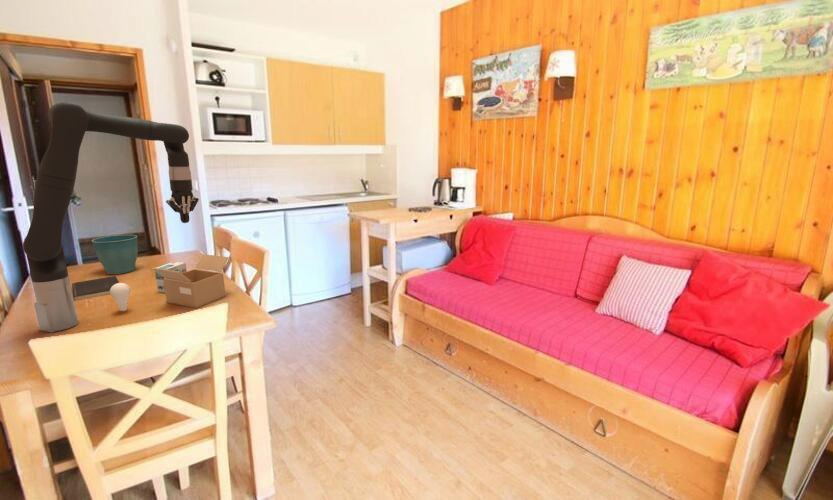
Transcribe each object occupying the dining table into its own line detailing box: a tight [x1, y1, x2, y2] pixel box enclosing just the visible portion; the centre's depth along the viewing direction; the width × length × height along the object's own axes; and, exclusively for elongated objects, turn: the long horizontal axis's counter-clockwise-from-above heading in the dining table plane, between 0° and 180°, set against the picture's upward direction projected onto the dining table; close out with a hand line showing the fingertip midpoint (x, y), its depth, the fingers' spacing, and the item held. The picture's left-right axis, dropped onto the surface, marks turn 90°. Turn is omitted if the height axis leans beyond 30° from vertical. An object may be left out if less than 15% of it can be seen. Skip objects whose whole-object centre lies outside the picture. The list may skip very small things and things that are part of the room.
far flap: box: [194, 253, 229, 273], centre depth 169 cm, size 6×14×1 cm
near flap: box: [151, 267, 191, 282], centre depth 153 cm, size 6×14×1 cm
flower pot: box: [91, 234, 139, 275], centre depth 201 cm, size 18×18×17 cm
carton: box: [163, 268, 227, 309], centre depth 163 cm, size 14×16×10 cm
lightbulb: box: [109, 282, 131, 312], centre depth 151 cm, size 6×6×11 cm
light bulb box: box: [154, 261, 187, 293], centre depth 176 cm, size 11×7×11 cm, turn 168°
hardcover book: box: [71, 275, 120, 302], centre depth 177 cm, size 16×23×2 cm
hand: (185, 222), depth 162 cm, fingers closed
